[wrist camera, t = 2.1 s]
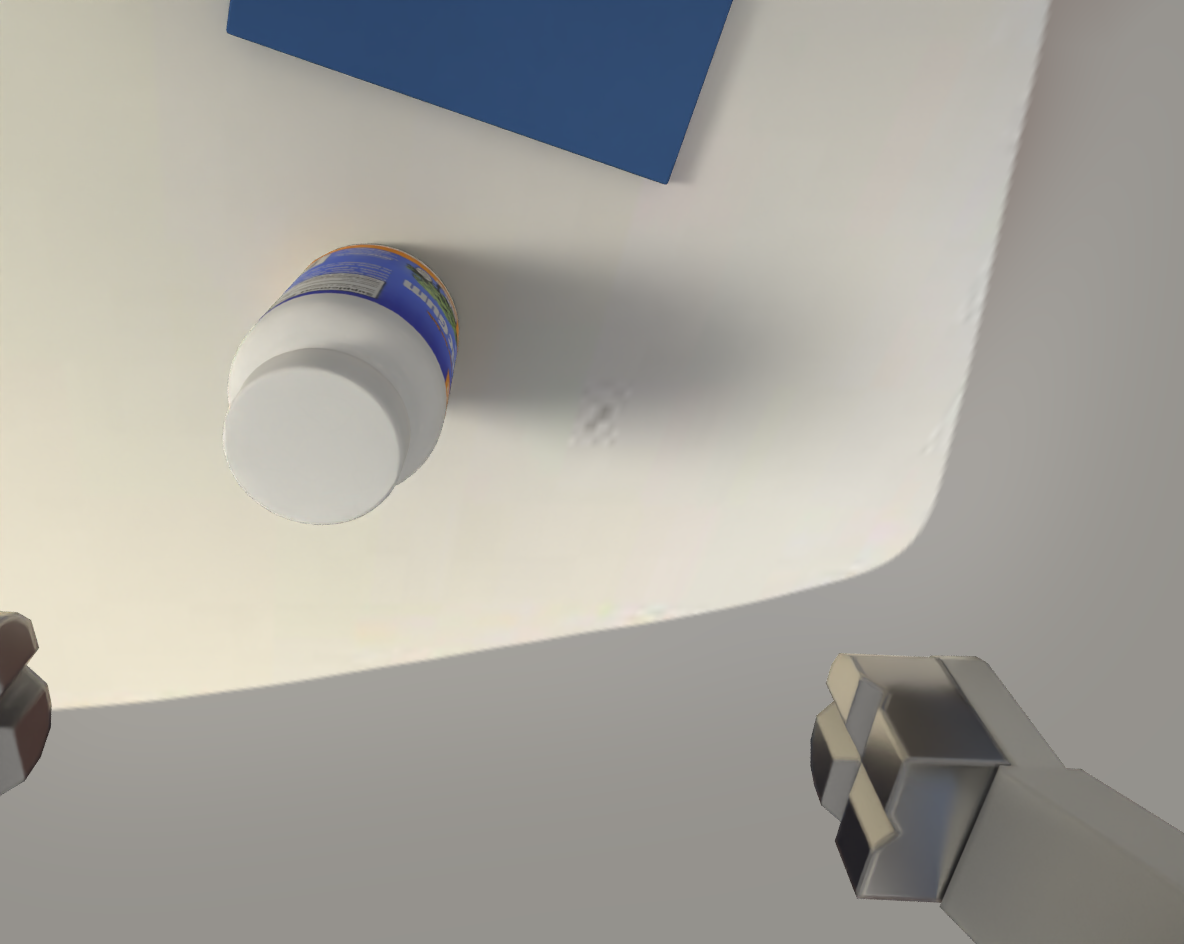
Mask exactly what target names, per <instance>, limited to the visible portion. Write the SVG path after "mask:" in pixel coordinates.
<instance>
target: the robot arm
mask: <svg viewBox="0 0 1184 944" xmlns="http://www.w3.org/2000/svg"><path fill="white" fill-rule="evenodd" d="M38 648H39V646H38V643H37V639H36V636H35V632H34V629H33V625H32V622H31V620H30V619H28V618H26V617H25V616H23V615H21V614H19V613H18V612H3V611H0V795H2V794H4V793H5V792H7V791H9V790H10V789H12V788H14V787H15V786H17V785H19V784H20V783H22V782H24V781H25V779H26V778H27V776H28V775H29V774H30V772H31V771H32V769H33V768H34V766H35V765H36V763H37V762H38V760H39V759H40V757H41V754H42V751H43V748H44V745H45V742H46V740H47V736H48V733H49V731H50V728H51V699H50V695H49V690H48V685H47V683H46V682H44V681H43V680H42V679H41V678H40V677H39V676H38V675H37V674H36V673H35V672H34V671H32V670H31V669H30V668H29V667H28V666H27V664H28V662H29V661H30V660H31V658H32V657H33V655H34V654H35V653H36V651H37V650H38ZM826 684H827V686H828V689H829V691H830V693H831V695H832V698H833V700H834V701H833V702H832V703H831V704H830V705H829V706H827V707H826V708H825V709H824V710H823V711H821V712H820V713H819V714H818V715H817V717H816V721H815V725H814V729H813V733H812V737H811V771H812V776H813V781H814V786H815V789H816V792H817V795H818V797H819V800H820V803H821V805H822V806H823V807H824V808H825V809H826V810H827V811H829V812H830V813H831V814H832V815H833V816H834V817H836V818H837V819H838V820H839V821H840V822H841V823H840V827H839V830H838V833H837V836H836V839H835V842H836V845H837V848H838V851H839V853H840V856H841V858H842V861H843V863H844V866H845V869H846V871H847V874H848V877H849V879H850V882H851V884H852V887H853V890H854V892H855V895H856V897H857V899H877V900H898V901H918V902H919V901H920V902H939V903H941V904H940V908H941V909H942V910H943V911H944V912H945V913H946V914H947V915H948V916H949V917H950V918H951V919H952V920H953V921H954V922H955V923H956V924H957V925H958V926H959V927H960V928H961V929H962V930H963V931H964V932H965V933H966V934H967V935H968V936H969V937H970V938H971V939H972V940H973V941H974V942H975V943H976V944H1184V833H1183V832H1181V831H1180V830H1178V829H1177V828H1175V827H1174V826H1172V825H1170V824H1169V823H1167V822H1165V821H1164V820H1162V819H1161V818H1159V817H1157V816H1156V815H1154V814H1153V813H1151V812H1149V811H1148V810H1146V809H1145V808H1143V807H1141V806H1140V805H1138V804H1137V803H1135V802H1133V801H1132V800H1130V799H1129V798H1127V797H1125V796H1123V795H1122V794H1120V793H1119V792H1117V791H1116V790H1114V789H1112V788H1111V787H1109V786H1108V785H1106V784H1104V783H1103V782H1101V781H1099V780H1098V779H1096V778H1095V777H1093V776H1092V775H1090V774H1088V773H1087V772H1085V771H1084V770H1082V769H1071V768H1065V766H1064V765H1063V763H1062V762H1061V761H1060V759H1059V758H1058V757H1057V755H1056V754H1055V753H1054V751H1053V750H1052V749H1051V747H1050V746H1049V745H1048V743H1047V742H1046V741H1045V739H1044V738H1043V737H1042V735H1041V734H1040V733H1039V731H1038V730H1037V729H1036V727H1035V726H1034V724H1033V723H1032V722H1031V721H1030V719H1029V718H1028V716H1027V715H1026V714H1025V712H1024V711H1023V710H1022V708H1021V707H1020V706H1019V704H1018V703H1017V702H1016V700H1015V699H1014V698H1013V696H1012V695H1011V694H1010V692H1009V691H1008V690H1007V688H1006V687H1005V686H1004V684H1003V683H1002V682H1001V680H1000V679H999V678H998V676H997V675H996V674H995V672H994V671H993V670H992V668H991V667H990V666H989V664H988V663H986V662H985V661H983V660H981V659H980V658H978V657H976V656H930V657H915V656H894V655H893V656H891V655H870V654H847V653H839V654H838V656H837V657H836V659H835V660H834V662H833V663H832V665H831V668H830V672H829V675H828V678H827V681H826Z"/></svg>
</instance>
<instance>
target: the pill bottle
mask: <svg viewBox="0 0 1184 944" xmlns="http://www.w3.org/2000/svg"><path fill="white" fill-rule="evenodd" d="M458 343H459V323H458V317H457V312H456V308H455V305H454V302H453V300H452V298H451V295H450V293H449V291H448V290H447V288H446V287H445V285H444V284H443V282H442V281H441V280H440V278H439V277H438V276H437V275H436V274H435V273H434V272H433V271H432V270H431V269H430V268H429V267H428V266H427V265H425V264H424V263H423V262H421V261H420V260H419V259H417V258H415V257H414V256H412V255H410V254H408V253H406V252H404V251H401V250H399V249H396V248H392V247H388V246H383V245H377V244H355V245H349V246H345V247H341V248H338V249H336V250H333V251H331V252H329V253H327V254H325V255H323V256H322V257H320V258H318V259H316V260H315V261H313V262H312V263H311V264H310V265H309V266H308V267H307V268H306V269H305V271H304V272H303V273H302V274H301V275H300V276H299V277H298V278H297V279H296V280H295V282H294V283H293V284H292V285H291V286H290V287H289V288H288V289H287V290H286V291H285V293H284V294H283V295H282V296H281V297H280V298H279V299H278V300H277V301H276V302H275V303H274V304H273V305H272V306H271V308H270V309H269V310H268V311H267V312H266V313H265V314H264V315H263V316H262V317H261V318H260V319H259V321H258V322H257V323H256V324H255V325H254V327H253V328H252V329H251V330H250V331H249V333H248V334H247V335H246V336H245V338H244V339H243V341H242V342H241V344H240V346H239V347H238V349H237V352H236V354H235V356H234V358H233V361H232V365H231V368H230V373H229V378H228V402H229V409H228V412H227V415H226V417H225V421H224V427H223V448H224V453H225V457H226V460H227V463H228V466H229V468H230V470H231V472H232V474H233V476H234V478H235V479H236V481H237V482H238V483H239V485H240V486H241V487H242V488H243V490H244V491H245V492H246V493H247V494H248V495H249V496H250V497H251V498H252V499H253V500H255V501H256V502H257V503H259V504H260V505H261V506H263V507H264V508H266V509H267V510H269V511H270V512H273V513H274V514H277V515H279V516H281V517H284V518H286V519H289V520H292V521H296V522H300V523H305V524H313V525H329V524H338V523H343V522H347V521H351V520H353V519H356V518H358V517H361V516H363V515H365V514H367V513H368V512H370V511H372V510H373V509H374V508H376V507H377V506H378V505H380V504H381V503H382V502H383V501H384V500H385V499H386V498H387V496H388V495H389V494H390V493H391V491H392V490H393V488H394V487H395V486H396V485H398V484H400V483H401V482H403V481H404V480H406V479H407V478H408V477H410V476H411V475H412V474H414V473H415V472H416V471H417V470H418V469H419V468H420V467H421V466H422V465H423V464H424V462H425V461H426V460H427V458H428V457H429V456H430V454H431V452H432V451H433V449H434V447H435V445H436V443H437V441H438V439H439V436H440V433H441V430H442V426H443V423H444V419H445V415H446V409H447V404H448V398H449V393H450V388H451V382H452V377H453V371H454V366H455V361H456V356H457V350H458Z"/></svg>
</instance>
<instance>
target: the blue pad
mask: <svg viewBox="0 0 1184 944" xmlns="http://www.w3.org/2000/svg"><path fill="white" fill-rule="evenodd" d="M732 1H733V0H230V6H229V14H228V21H227V29H226V30H227V33H229V34H231V35H234V36H237V37H240V38H242V39H245V40H248V41H251V42H254V43H257V44H260V45H263V46H266V47H269V48H271V49H274V50H277V51H280V52H283V53H286V54H289V55H292V56H295V57H297V58H300V59H303V60H306V61H309V62H312V63H315V64H318V65H321V66H323V67H326V68H329V69H332V70H335V71H338V72H341V73H344V74H347V75H350V76H352V77H355V78H358V79H361V80H364V81H367V82H370V83H373V84H376V85H378V86H381V87H384V88H387V89H390V90H393V91H396V92H399V93H402V94H405V95H407V96H410V97H413V98H416V99H419V100H422V101H425V102H428V103H431V104H433V105H436V106H439V107H442V108H445V109H448V110H451V111H454V112H457V113H459V114H462V115H465V116H468V117H471V118H474V119H477V120H480V121H483V122H486V123H488V124H491V125H494V126H497V127H500V128H503V129H506V130H509V131H512V132H514V133H517V134H520V135H523V136H526V137H529V138H532V139H535V140H538V141H541V142H543V143H546V144H549V145H552V146H555V147H558V148H561V149H564V150H567V151H569V152H572V153H575V154H578V155H581V156H584V157H587V158H590V159H593V160H596V161H598V162H601V163H604V164H607V165H610V166H613V167H616V168H619V169H622V170H624V171H627V172H630V173H633V174H636V175H639V176H642V177H645V178H648V179H650V180H653V181H656V182H659V183H662V184H667V183H668V181H669V179H670V176H671V173H672V170H673V167H674V165H675V162H676V159H677V156H678V153H679V150H680V148H681V145H682V142H683V139H684V136H685V134H686V131H687V128H688V125H689V122H690V120H691V117H692V114H693V111H694V108H695V105H696V103H697V100H698V97H699V94H700V91H701V89H702V86H703V83H704V80H705V77H706V75H707V72H708V69H709V66H710V63H711V60H712V58H713V55H714V52H715V49H716V46H717V44H718V41H719V38H720V35H721V32H722V30H723V27H724V24H725V21H726V18H727V15H728V13H729V10H730V7H731V4H732Z"/></svg>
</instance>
